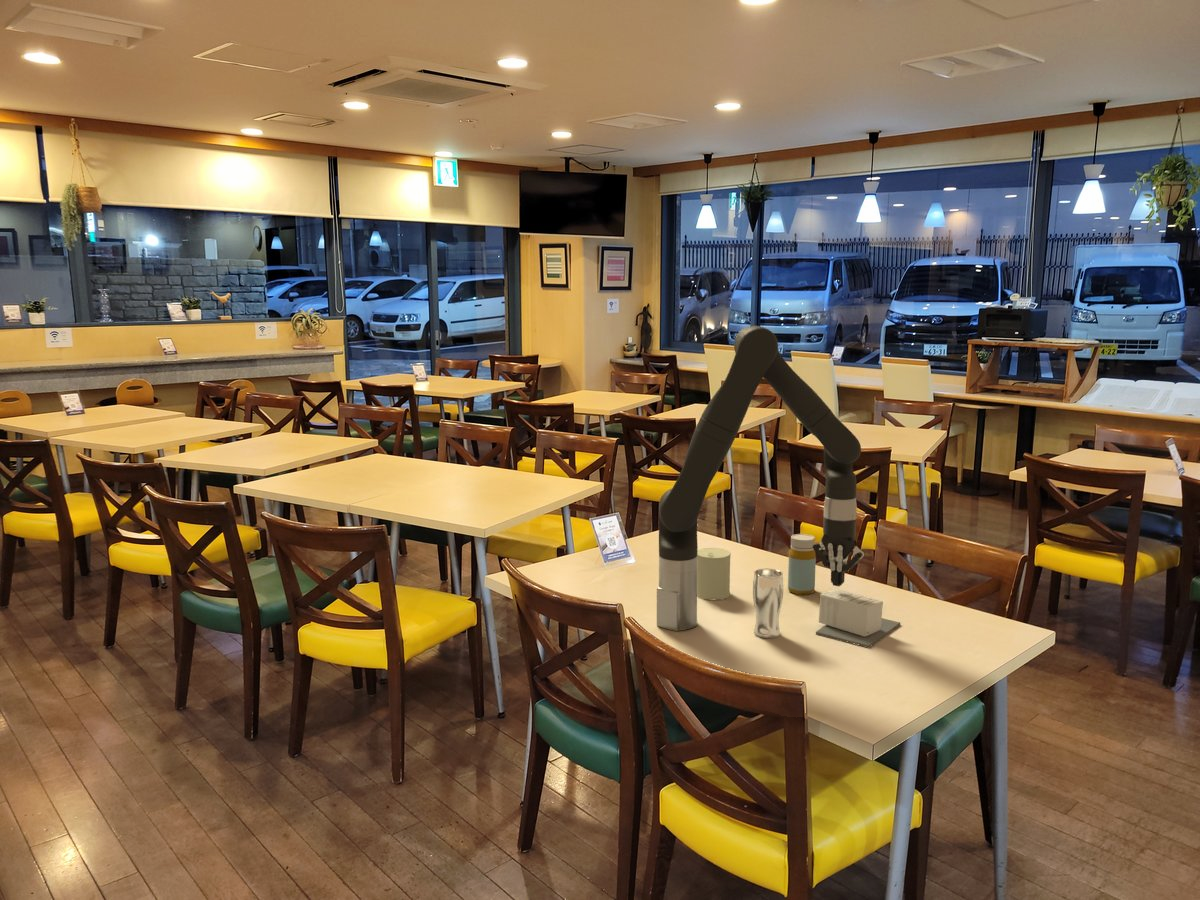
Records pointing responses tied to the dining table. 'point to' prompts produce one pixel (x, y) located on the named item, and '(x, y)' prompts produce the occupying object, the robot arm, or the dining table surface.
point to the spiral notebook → (857, 639)
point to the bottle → (802, 564)
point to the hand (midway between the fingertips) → (837, 585)
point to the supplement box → (850, 612)
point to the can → (713, 573)
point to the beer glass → (767, 601)
